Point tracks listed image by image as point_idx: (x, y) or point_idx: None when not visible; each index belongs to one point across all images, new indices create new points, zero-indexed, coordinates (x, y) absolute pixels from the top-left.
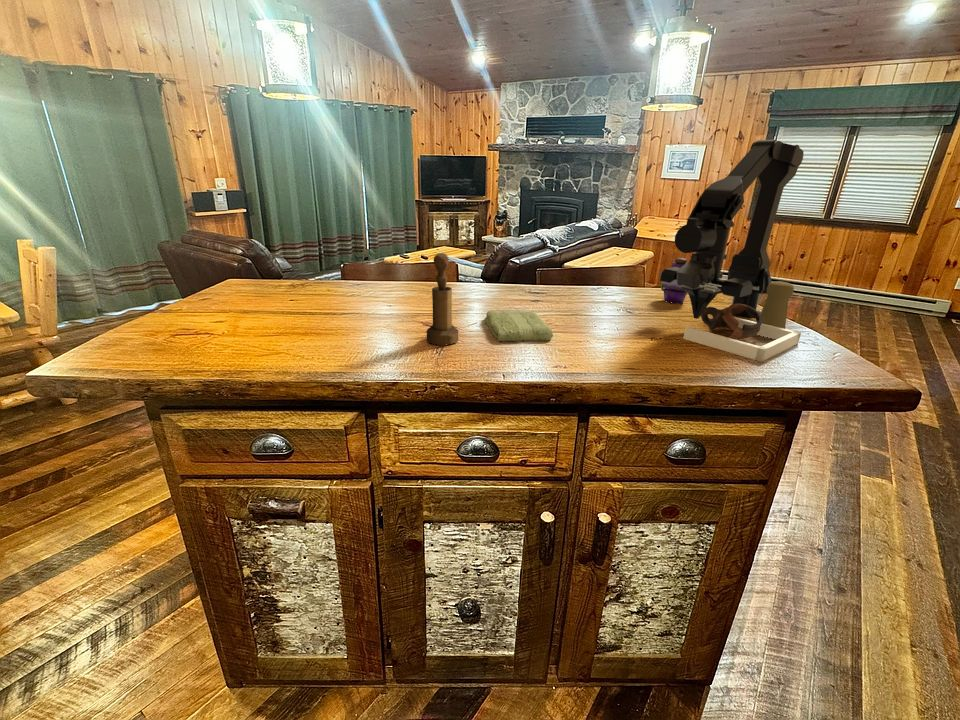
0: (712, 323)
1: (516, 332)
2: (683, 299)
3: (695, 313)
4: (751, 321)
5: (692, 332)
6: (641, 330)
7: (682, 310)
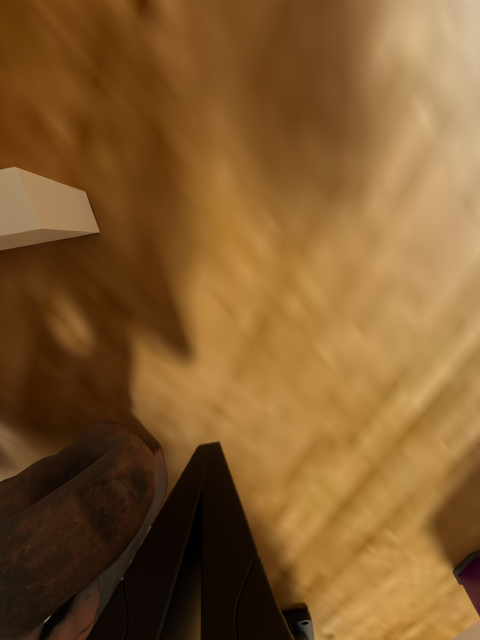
0: (74, 456)
1: None
2: (470, 594)
3: (205, 472)
4: None
5: None
6: (360, 36)
7: (412, 526)
